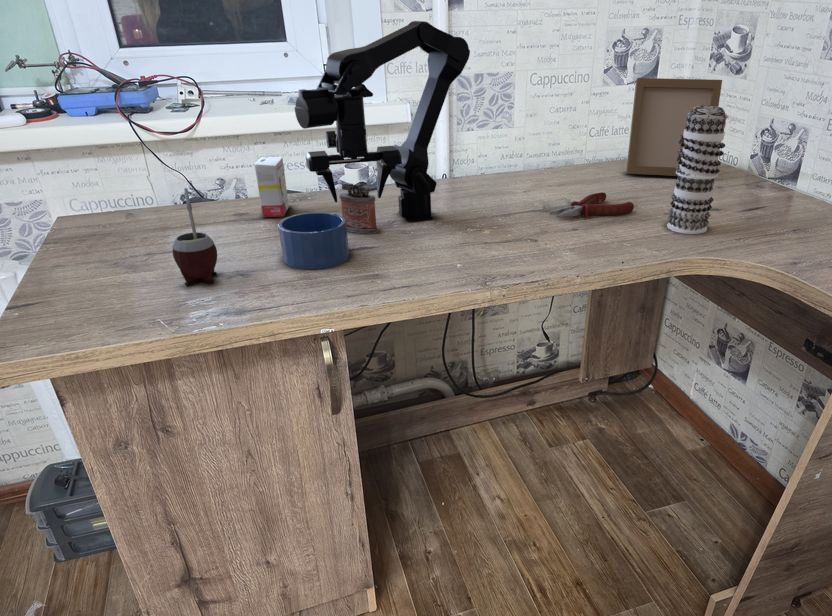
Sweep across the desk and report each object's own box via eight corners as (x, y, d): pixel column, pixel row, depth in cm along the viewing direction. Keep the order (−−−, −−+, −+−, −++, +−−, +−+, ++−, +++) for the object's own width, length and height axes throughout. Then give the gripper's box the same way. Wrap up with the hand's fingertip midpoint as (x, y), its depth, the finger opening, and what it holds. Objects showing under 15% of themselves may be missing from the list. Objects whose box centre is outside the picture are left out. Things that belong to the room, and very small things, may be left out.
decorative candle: (657, 228, 137) (676, 107, 125) (677, 218, 143) (697, 102, 131) (696, 237, 132) (720, 112, 120) (715, 227, 138) (740, 107, 125)
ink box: (283, 217, 143) (276, 164, 137) (261, 217, 142) (253, 165, 137) (290, 206, 150) (283, 155, 144) (269, 206, 150) (261, 156, 144)
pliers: (537, 213, 146) (537, 202, 144) (601, 200, 155) (603, 190, 154) (569, 227, 137) (570, 216, 136) (635, 213, 147) (636, 202, 146)
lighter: (380, 229, 136) (377, 183, 131) (373, 234, 133) (369, 187, 128) (347, 225, 138) (342, 180, 133) (339, 230, 135) (334, 184, 130)
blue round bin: (343, 242, 129) (339, 209, 125) (354, 264, 118) (350, 228, 115) (280, 250, 125) (275, 215, 121) (286, 273, 115) (281, 236, 111)
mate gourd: (197, 291, 108) (177, 205, 100) (168, 281, 111) (147, 197, 104) (232, 276, 113) (216, 194, 106) (204, 267, 117) (186, 187, 109)
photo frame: (707, 180, 172) (726, 82, 160) (626, 177, 175) (638, 80, 163) (699, 167, 185) (716, 75, 172) (624, 164, 188) (635, 74, 175)
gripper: (387, 113, 134) (392, 186, 142) (298, 118, 128) (308, 193, 136) (400, 122, 125) (404, 199, 133) (304, 128, 119) (314, 208, 127)
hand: (357, 199), depth 132 cm, fingers open, 9 cm apart
